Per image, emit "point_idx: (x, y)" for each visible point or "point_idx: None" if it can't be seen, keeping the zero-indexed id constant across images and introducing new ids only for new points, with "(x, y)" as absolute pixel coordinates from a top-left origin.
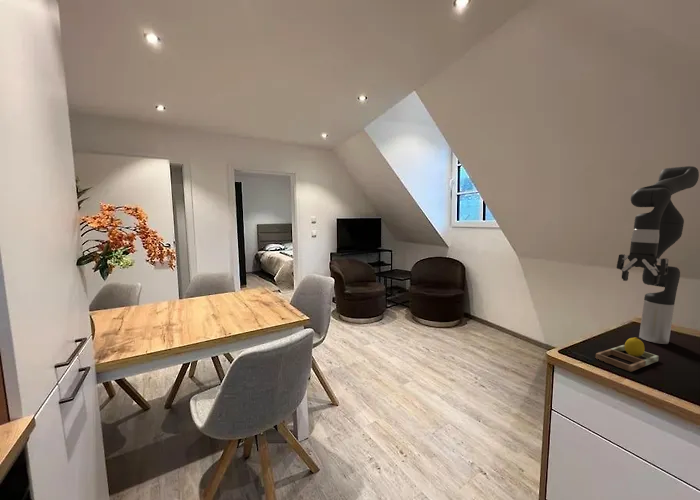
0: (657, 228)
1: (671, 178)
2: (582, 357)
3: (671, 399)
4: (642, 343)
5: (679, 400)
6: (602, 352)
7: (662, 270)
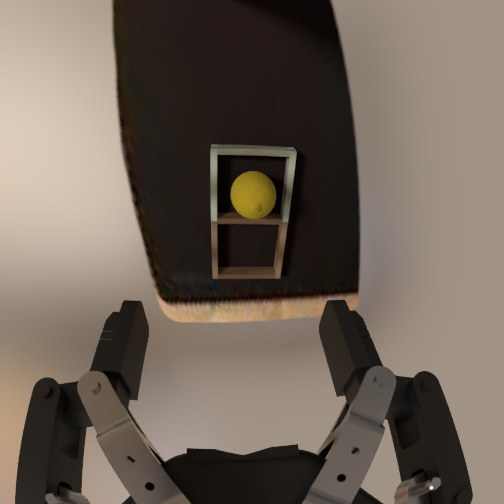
0: None
1: None
2: (199, 286)
3: None
4: (273, 204)
5: None
6: (215, 260)
7: (403, 432)
